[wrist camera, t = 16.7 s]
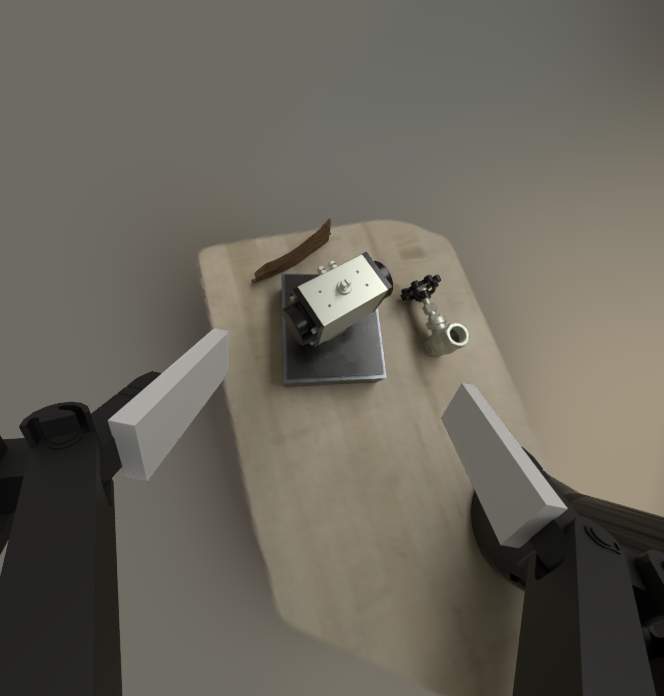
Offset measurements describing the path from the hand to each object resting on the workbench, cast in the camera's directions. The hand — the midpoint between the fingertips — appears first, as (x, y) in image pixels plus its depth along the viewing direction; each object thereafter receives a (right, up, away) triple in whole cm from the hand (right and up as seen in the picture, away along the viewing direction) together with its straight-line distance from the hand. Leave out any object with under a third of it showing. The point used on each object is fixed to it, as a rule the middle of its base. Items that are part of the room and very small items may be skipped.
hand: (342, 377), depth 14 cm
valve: (+15, +5, +29) cm, 33 cm away
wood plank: (-7, +16, +28) cm, 33 cm away
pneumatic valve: (-1, +5, +21) cm, 21 cm away
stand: (-1, +4, +25) cm, 26 cm away
